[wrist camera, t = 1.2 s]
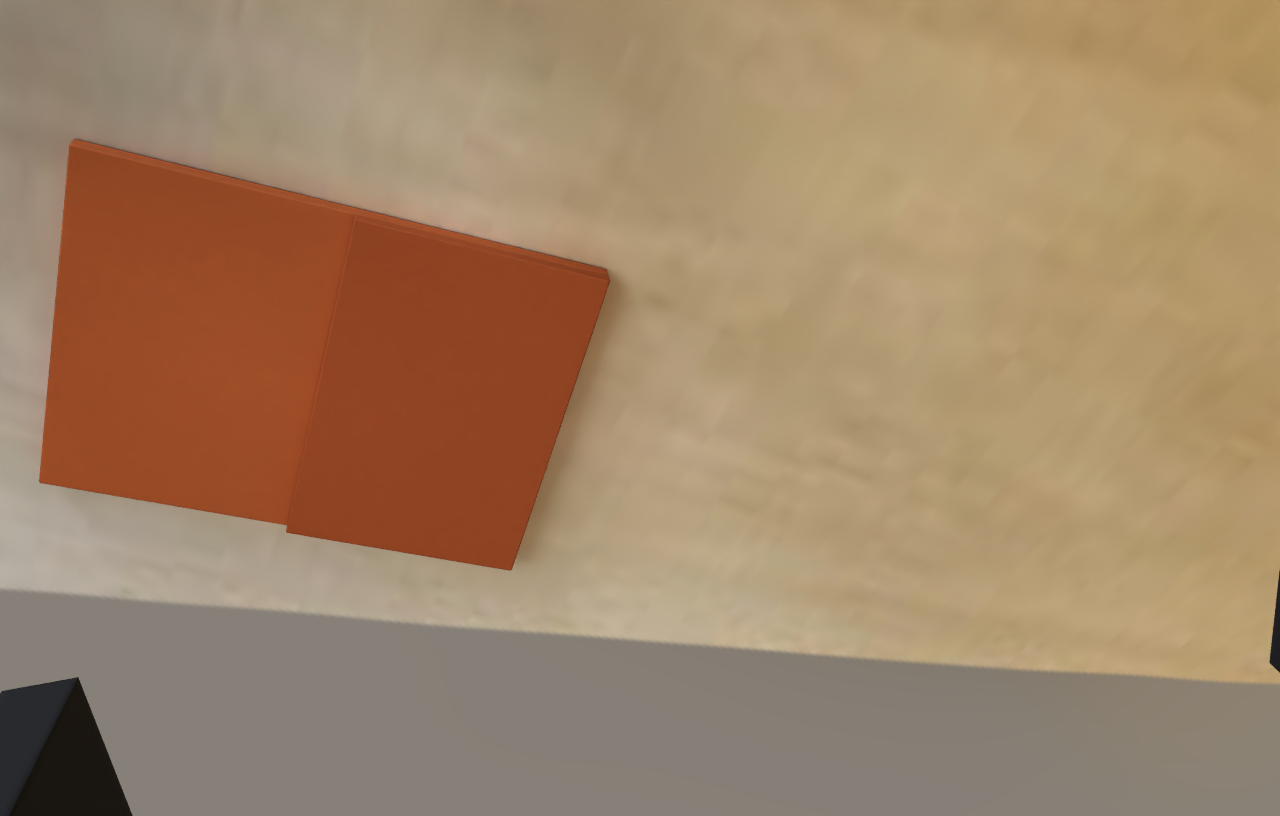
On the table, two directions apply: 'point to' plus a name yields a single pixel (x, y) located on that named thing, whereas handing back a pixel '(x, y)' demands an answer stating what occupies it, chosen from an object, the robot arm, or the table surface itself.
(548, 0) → the table surface
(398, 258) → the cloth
